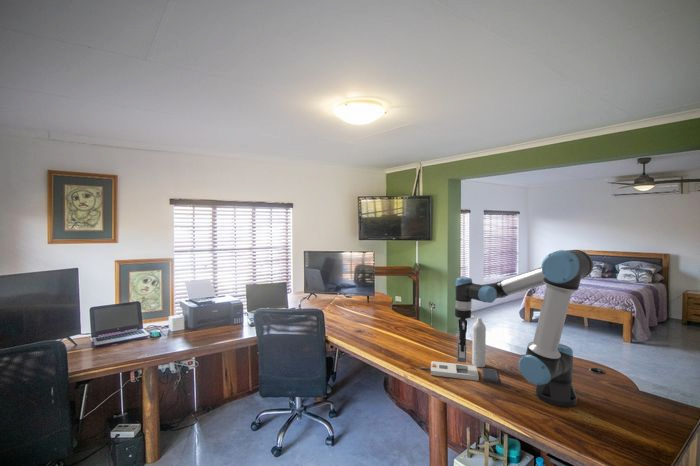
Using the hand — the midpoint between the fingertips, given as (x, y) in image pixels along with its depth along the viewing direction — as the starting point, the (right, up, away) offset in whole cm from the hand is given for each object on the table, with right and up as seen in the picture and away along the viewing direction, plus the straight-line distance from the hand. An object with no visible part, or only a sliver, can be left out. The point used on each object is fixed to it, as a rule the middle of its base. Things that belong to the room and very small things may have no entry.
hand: (461, 355), depth 167 cm
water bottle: (+12, -9, +11) cm, 18 cm away
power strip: (-6, -9, +2) cm, 11 cm away
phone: (+13, -10, -3) cm, 16 cm away
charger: (0, -2, 0) cm, 3 cm away
